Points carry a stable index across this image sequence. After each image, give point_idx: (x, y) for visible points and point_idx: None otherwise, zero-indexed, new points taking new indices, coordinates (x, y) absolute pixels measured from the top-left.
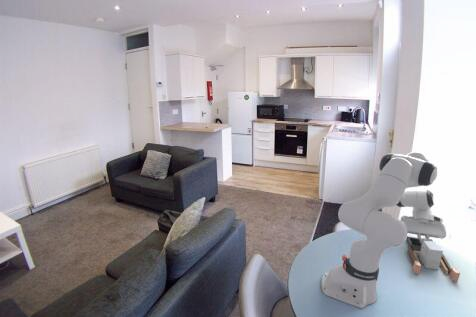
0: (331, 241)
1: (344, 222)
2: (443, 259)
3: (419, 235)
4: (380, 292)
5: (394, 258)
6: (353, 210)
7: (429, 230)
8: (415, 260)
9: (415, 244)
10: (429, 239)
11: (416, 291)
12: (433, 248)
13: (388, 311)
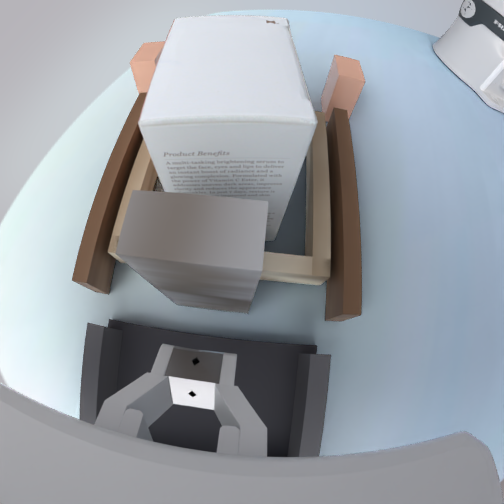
0: None
1: None
2: (115, 186)
3: (250, 432)
4: (431, 59)
5: (427, 208)
6: None
7: (58, 483)
8: (342, 128)
9: None
10: (158, 243)
11: (344, 45)
12: (247, 25)
13: (404, 27)
